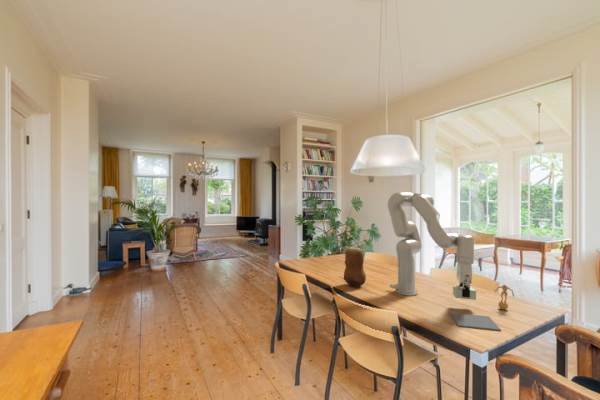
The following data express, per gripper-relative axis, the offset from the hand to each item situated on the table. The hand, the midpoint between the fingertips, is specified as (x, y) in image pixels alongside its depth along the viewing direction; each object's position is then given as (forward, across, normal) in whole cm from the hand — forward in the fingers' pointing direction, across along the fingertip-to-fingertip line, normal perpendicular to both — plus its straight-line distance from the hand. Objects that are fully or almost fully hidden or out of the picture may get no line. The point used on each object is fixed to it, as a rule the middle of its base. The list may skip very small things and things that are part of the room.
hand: (464, 294), depth 143 cm
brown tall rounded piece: (+9, -22, -57) cm, 62 cm away
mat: (+6, +18, 0) cm, 19 cm away
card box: (+1, 0, 0) cm, 1 cm away
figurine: (+6, -4, +19) cm, 20 cm away
